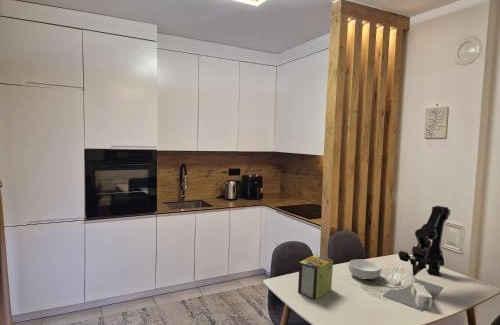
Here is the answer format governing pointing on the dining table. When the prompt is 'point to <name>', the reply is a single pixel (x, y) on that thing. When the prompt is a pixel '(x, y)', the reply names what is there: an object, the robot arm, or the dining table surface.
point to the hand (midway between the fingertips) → (413, 275)
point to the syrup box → (421, 295)
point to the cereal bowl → (364, 269)
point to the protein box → (315, 276)
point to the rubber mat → (406, 296)
